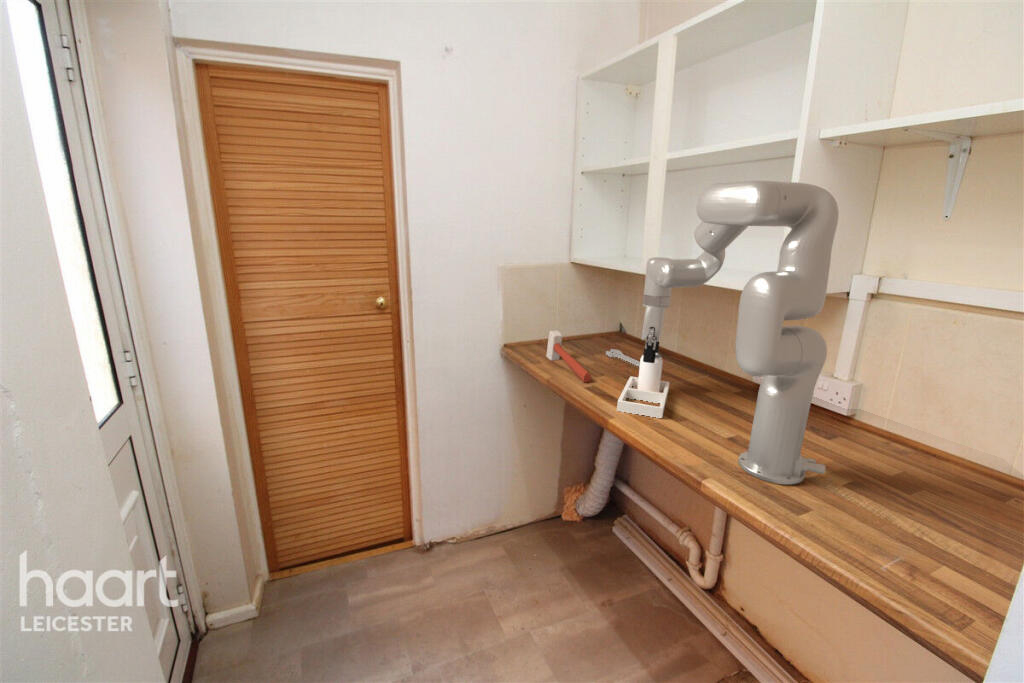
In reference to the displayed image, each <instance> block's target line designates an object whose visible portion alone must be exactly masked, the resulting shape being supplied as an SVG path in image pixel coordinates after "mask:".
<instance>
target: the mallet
mask: <svg viewBox="0 0 1024 683" xmlns="http://www.w3.org/2000/svg"><path fill="white" fill-rule="evenodd" d="M562 342H563V335H562V333H561V332H560V331H559V330H549V334H548V339H547V346H546V347H547V350H546V355H545V356H546V358H547V359H548V360H550V361H558V360H560V358H562V360H563V361H564V362H565V363H566V365H567V366H568V367H569V368H570V369H571V371H573V373H574V374H575V375H576V376H577V377H578V378H579V379H580V380H581V381H582V382H583V383H584V384H586V383H590V382H591V380H592V374H591V373H590V372H588V370H587V369H586V368H585V367H583V366H582V365H581V363H579V362H578V360H576V359H575V358H574V357H573V356H572V355H570V354H569V353H568V352H567V351H566V350H565V349H564V348H563V347H562Z"/></svg>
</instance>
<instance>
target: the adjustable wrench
mask: <svg viewBox="0 0 1024 683" xmlns="http://www.w3.org/2000/svg"><path fill="white" fill-rule="evenodd" d="M612 352H613V353H612ZM607 355H608V357H609V358H615V357H618V358H617V359H619V358H621V359H620V360H622V359H623V360H622V361H624V360H625V361H624V362H626V361H628V362H630V363H629V364H631V363H632V364H631V365H633V364H634V365H633V366H635V365H636V367H637V366H639V367H638V368H640V361H639V360H637V359H635V358H632V357H630V356H628V355H625V354H624V353H623V352H622V351H621V350H619V349H613V348H610V350H606V351H605V356H607ZM628 362H627V363H628Z"/></svg>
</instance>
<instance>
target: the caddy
mask: <svg viewBox="0 0 1024 683" xmlns="http://www.w3.org/2000/svg"><path fill="white" fill-rule="evenodd" d="M638 378H639V376H637V377H636V376H630V377H629V378H628V380H627V382H626V383H625V386H624V388H623V389H622V391H621V394H620V396H619V397H618V400H617V404H616V412H618V411H621V412H620V413H624V412H626V413H625V414H629V413H632V414H631V415H635V414H639V415H638V416H641V415H645V416H644V417H646V416H650V417H649V418H652V417H656V418H655V419H658V418H662V419H663V416H664V411H665V407H666V403H667V400H668V394H669V389H670V381H665V380H661V381H660V389H659V393H658V392H652V391H645V390H639V389H637V388H638ZM632 386H633V387H632ZM626 398H629V400H634V399H636V400H635V401H640V400H643V401H642V402H646V401H648V402H647V403H652V402H653V403H654V404H658V403H660V404H659V406H656V405H650V404H644V403H640V402H633V401H627V399H626Z"/></svg>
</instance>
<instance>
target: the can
mask: <svg viewBox="0 0 1024 683" xmlns="http://www.w3.org/2000/svg"><path fill="white" fill-rule="evenodd" d="M662 356H663V355H662V354H661V353H659V352H658V353H656V355H655V362H654V363H648V362H643V357H644V352H642V354H641V357H640V361H639V362H640V367H638V377H639V378H638V388H637V389H639V390H645V391H652V392H658V393H659V389H660V381H662V380H661V379H662V372H663V371H662V370H663V362H664V361H663V358H662Z"/></svg>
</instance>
